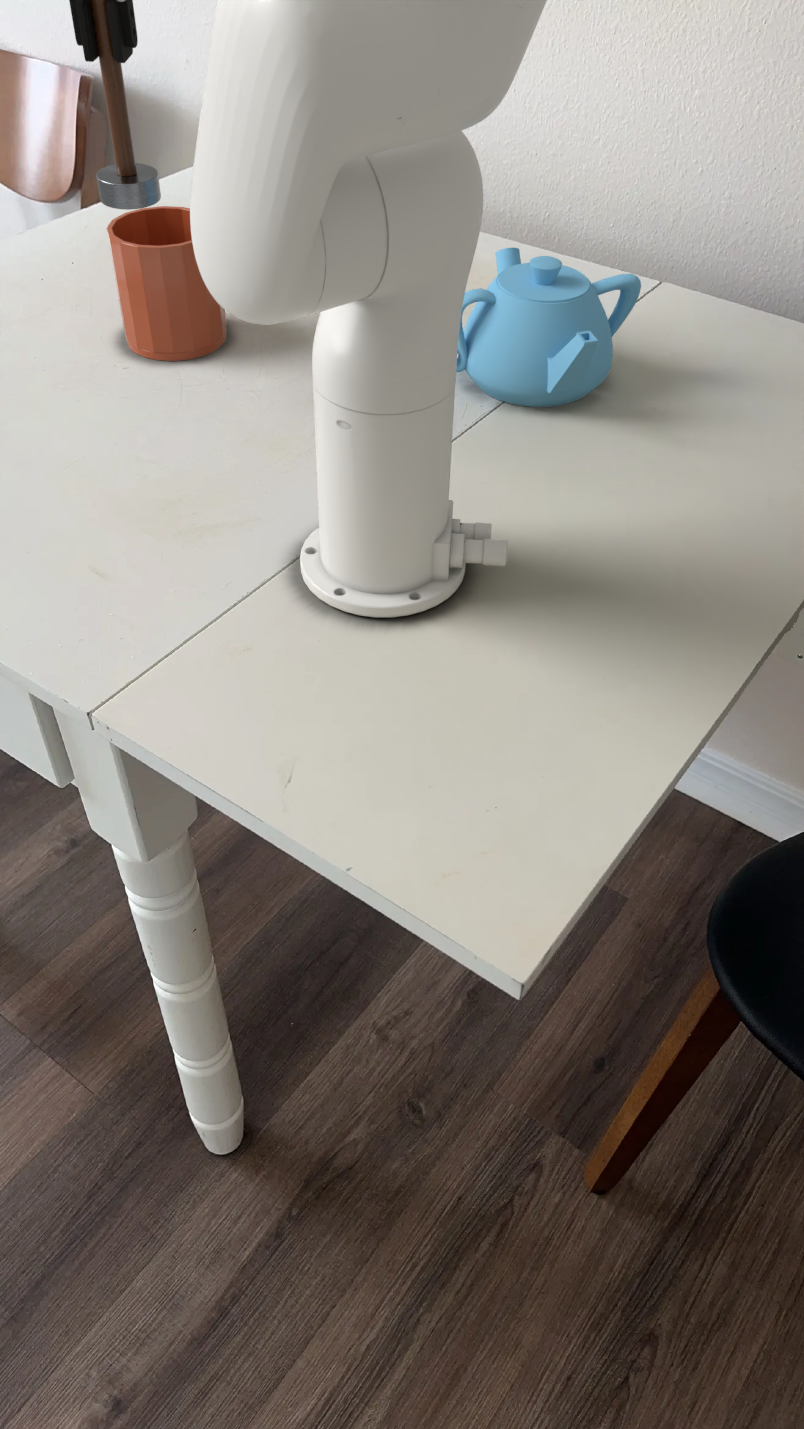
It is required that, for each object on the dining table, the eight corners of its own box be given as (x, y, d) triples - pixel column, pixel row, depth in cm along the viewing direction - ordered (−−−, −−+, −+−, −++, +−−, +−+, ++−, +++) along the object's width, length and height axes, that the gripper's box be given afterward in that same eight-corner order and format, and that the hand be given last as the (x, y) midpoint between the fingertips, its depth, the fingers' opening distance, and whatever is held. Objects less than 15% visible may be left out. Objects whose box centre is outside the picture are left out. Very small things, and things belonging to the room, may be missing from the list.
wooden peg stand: (166, 188, 92) (138, -36, 80) (153, 211, 88) (122, -20, 77) (108, 186, 92) (72, -39, 81) (93, 208, 89) (53, -23, 77)
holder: (234, 318, 112) (224, 208, 105) (216, 363, 105) (203, 249, 97) (140, 313, 113) (122, 204, 105) (115, 358, 106) (94, 244, 98)
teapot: (637, 354, 108) (657, 240, 100) (581, 435, 97) (599, 314, 89) (495, 322, 113) (503, 211, 105) (426, 396, 102) (430, 278, 94)
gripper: (-81, -266, 67) (-7, 67, 80) (169, -257, 67) (201, 76, 80) (-39, -274, 73) (23, 40, 86) (192, -266, 72) (219, 48, 85)
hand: (109, 55), depth 83 cm, fingers closed on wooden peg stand
